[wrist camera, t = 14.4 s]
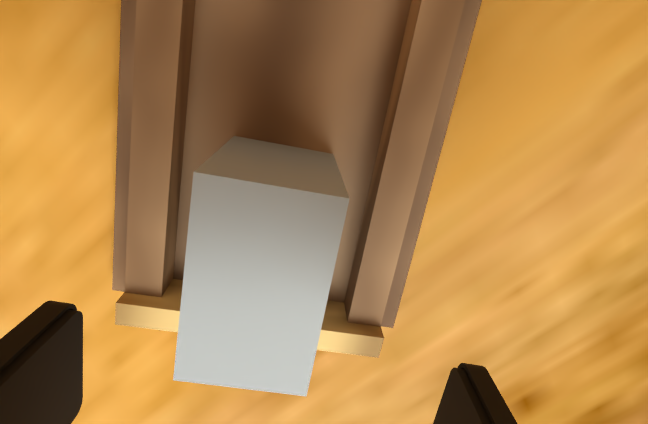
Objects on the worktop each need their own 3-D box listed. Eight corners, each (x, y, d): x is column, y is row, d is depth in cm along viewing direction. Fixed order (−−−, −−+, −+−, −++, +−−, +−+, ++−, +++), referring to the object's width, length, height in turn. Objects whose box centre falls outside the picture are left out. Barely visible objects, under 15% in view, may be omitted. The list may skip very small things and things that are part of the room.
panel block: (333, 153, 21) (349, 198, 13) (305, 292, 23) (306, 396, 16) (234, 135, 21) (193, 171, 13) (216, 279, 23) (173, 380, 15)
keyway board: (560, -331, 17) (641, -459, 13) (389, 316, 26) (404, 361, 22) (149, -459, 15) (93, -651, 11) (121, 279, 24) (85, 320, 20)
